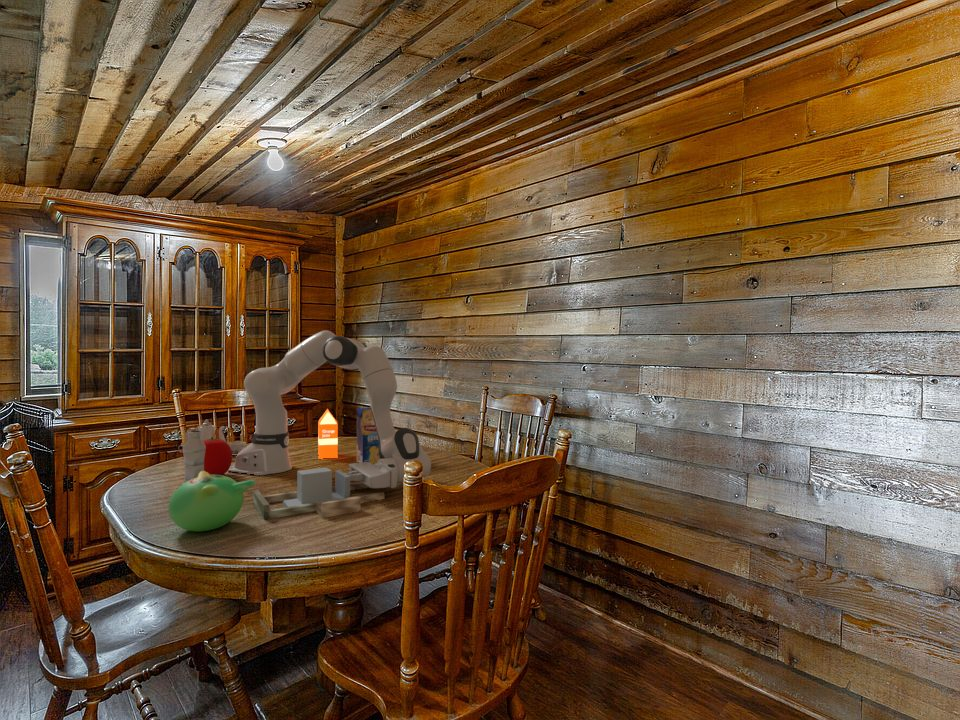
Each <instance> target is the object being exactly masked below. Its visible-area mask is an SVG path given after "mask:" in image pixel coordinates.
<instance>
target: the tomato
mask: <svg viewBox="0 0 960 720" xmlns="http://www.w3.org/2000/svg"><path fill="white" fill-rule="evenodd" d="M203 442H204V444H205V446H206V450H205V457H204V471H206V472H207V473H209V474H210V475H223V476H225V474H226V473H228V470H229V468H230V467H231V466H232V462H233V456H232V450H231V448H230V446H229V445H228V444H227V442H228V441H226V442H225V441H224V440H221V439H219V438H215V439H213V437H211V439H208V440H205V441H204V440H203Z"/></svg>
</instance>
